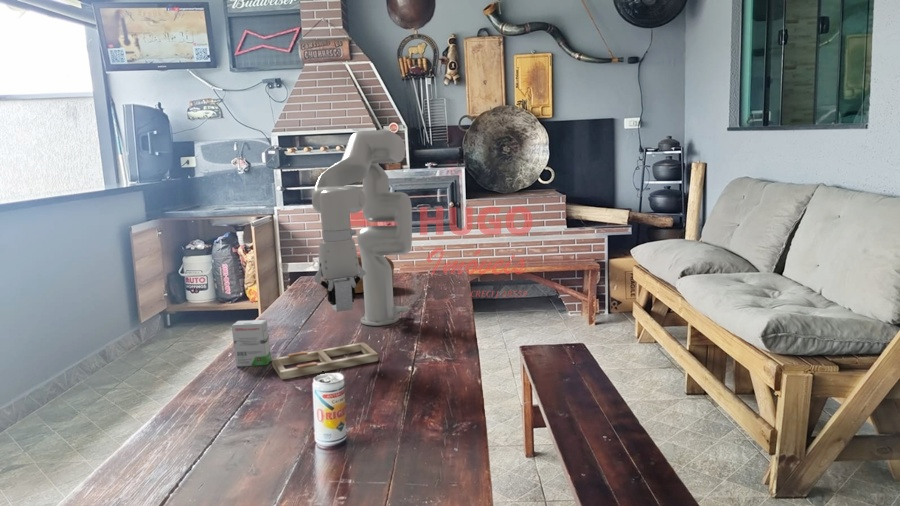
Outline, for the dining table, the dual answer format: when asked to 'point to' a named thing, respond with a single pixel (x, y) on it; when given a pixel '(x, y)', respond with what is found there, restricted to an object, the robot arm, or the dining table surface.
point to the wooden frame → (323, 360)
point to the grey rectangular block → (342, 295)
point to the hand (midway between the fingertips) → (341, 301)
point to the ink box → (251, 343)
